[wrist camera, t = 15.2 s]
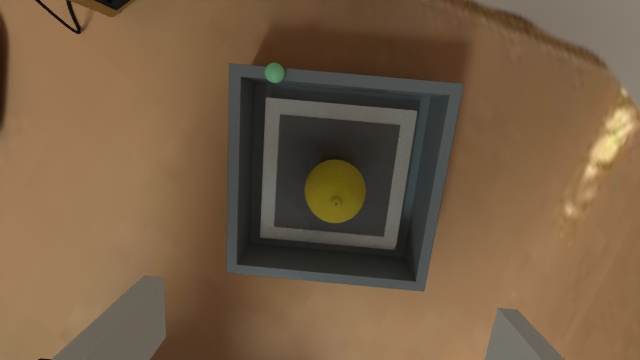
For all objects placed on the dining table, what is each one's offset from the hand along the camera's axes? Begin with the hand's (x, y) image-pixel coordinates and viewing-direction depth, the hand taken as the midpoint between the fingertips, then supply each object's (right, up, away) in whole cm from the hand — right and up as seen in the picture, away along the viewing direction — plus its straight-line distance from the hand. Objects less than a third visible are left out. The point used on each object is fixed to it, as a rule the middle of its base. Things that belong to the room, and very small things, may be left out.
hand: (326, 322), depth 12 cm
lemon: (+1, +6, +20) cm, 20 cm away
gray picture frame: (+1, +6, +20) cm, 21 cm away
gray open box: (+1, +6, +22) cm, 23 cm away
